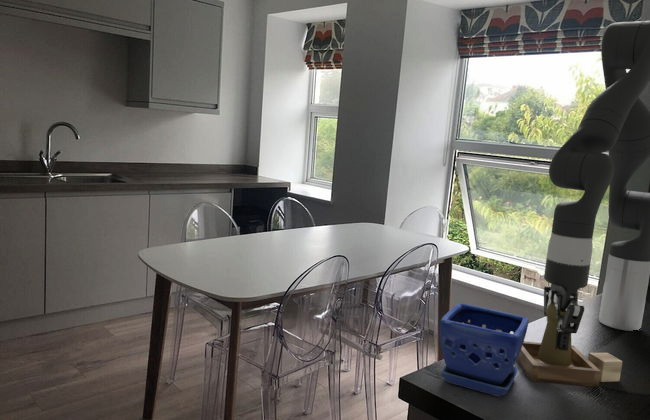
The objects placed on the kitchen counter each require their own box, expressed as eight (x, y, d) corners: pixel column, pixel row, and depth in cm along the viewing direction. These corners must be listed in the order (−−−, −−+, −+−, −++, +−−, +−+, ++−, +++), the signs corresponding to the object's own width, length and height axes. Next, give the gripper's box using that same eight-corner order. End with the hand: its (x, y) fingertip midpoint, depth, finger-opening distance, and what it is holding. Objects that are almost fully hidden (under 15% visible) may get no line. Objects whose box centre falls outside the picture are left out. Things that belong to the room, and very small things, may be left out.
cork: (574, 368, 100) (583, 311, 99) (540, 363, 101) (548, 307, 100) (567, 356, 106) (575, 302, 105) (534, 351, 107) (542, 297, 106)
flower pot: (451, 359, 106) (457, 300, 104) (522, 377, 100) (530, 315, 98) (431, 384, 94) (438, 318, 92) (510, 407, 88) (520, 337, 86)
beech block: (586, 372, 104) (589, 352, 104) (603, 372, 105) (607, 352, 105) (600, 382, 100) (604, 361, 100) (619, 381, 101) (622, 361, 101)
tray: (511, 354, 110) (513, 340, 110) (571, 359, 110) (573, 345, 109) (531, 380, 98) (533, 365, 98) (598, 387, 98) (600, 371, 98)
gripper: (606, 269, 94) (592, 364, 96) (573, 252, 108) (561, 334, 110) (562, 266, 94) (549, 360, 97) (535, 249, 108) (524, 331, 111)
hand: (556, 346), depth 103 cm, fingers closed on cork, 3 cm apart
